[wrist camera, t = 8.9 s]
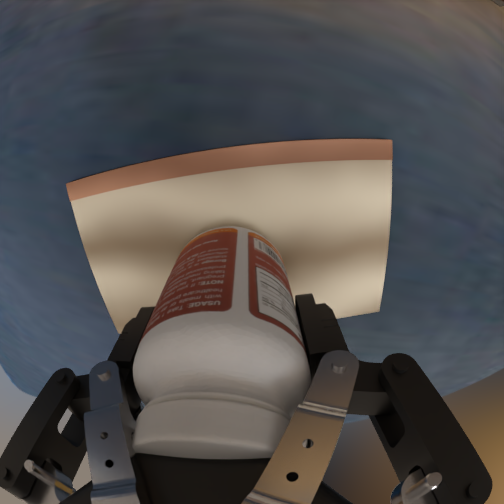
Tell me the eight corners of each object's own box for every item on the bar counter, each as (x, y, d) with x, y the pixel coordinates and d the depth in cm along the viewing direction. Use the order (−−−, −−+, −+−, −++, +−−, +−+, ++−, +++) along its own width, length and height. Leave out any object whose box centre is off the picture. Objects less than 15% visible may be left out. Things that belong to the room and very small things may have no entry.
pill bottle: (174, 306, 17) (121, 474, 6) (183, 212, 14) (74, 389, 4) (270, 323, 17) (286, 496, 7) (299, 235, 15) (372, 429, 5)
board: (71, 181, 15) (66, 183, 14) (386, 139, 14) (392, 139, 13) (121, 328, 20) (118, 334, 19) (376, 306, 19) (379, 312, 18)
